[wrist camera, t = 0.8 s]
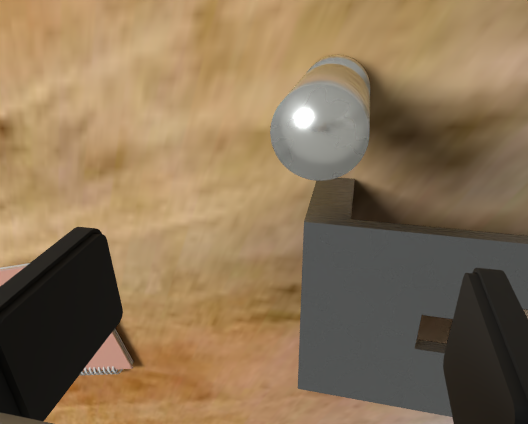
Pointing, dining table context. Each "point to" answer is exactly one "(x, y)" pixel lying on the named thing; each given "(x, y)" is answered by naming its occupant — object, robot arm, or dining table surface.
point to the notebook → (108, 354)
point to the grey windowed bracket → (386, 299)
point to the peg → (324, 120)
